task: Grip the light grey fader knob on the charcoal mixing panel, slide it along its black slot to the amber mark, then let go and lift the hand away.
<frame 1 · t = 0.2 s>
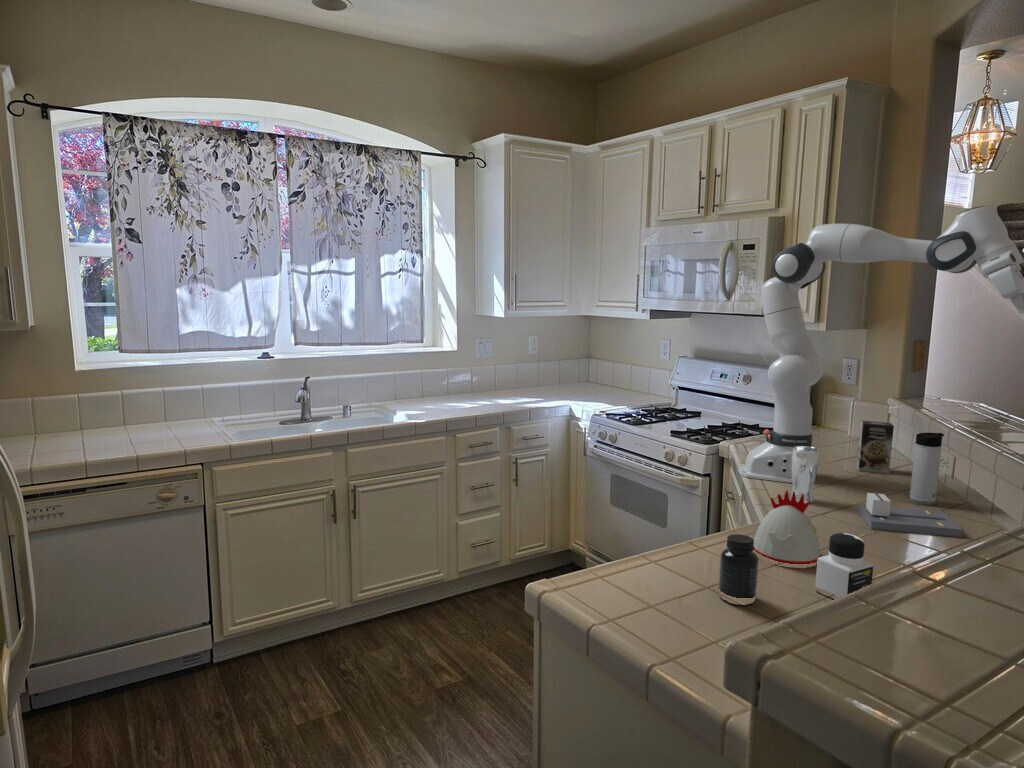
fader panel: (906, 523, 171), on the table
travel mug: (922, 502, 188), on the table
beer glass: (801, 500, 189), on the table
fader knob: (878, 504, 172), point 4 cm above the table, slide at -7.0 cm
supplement bottle: (736, 599, 128), on the table
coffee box: (872, 471, 221), on the table
medicine bottle: (842, 596, 130), on the table
kitchen timer: (785, 556, 149), on the table
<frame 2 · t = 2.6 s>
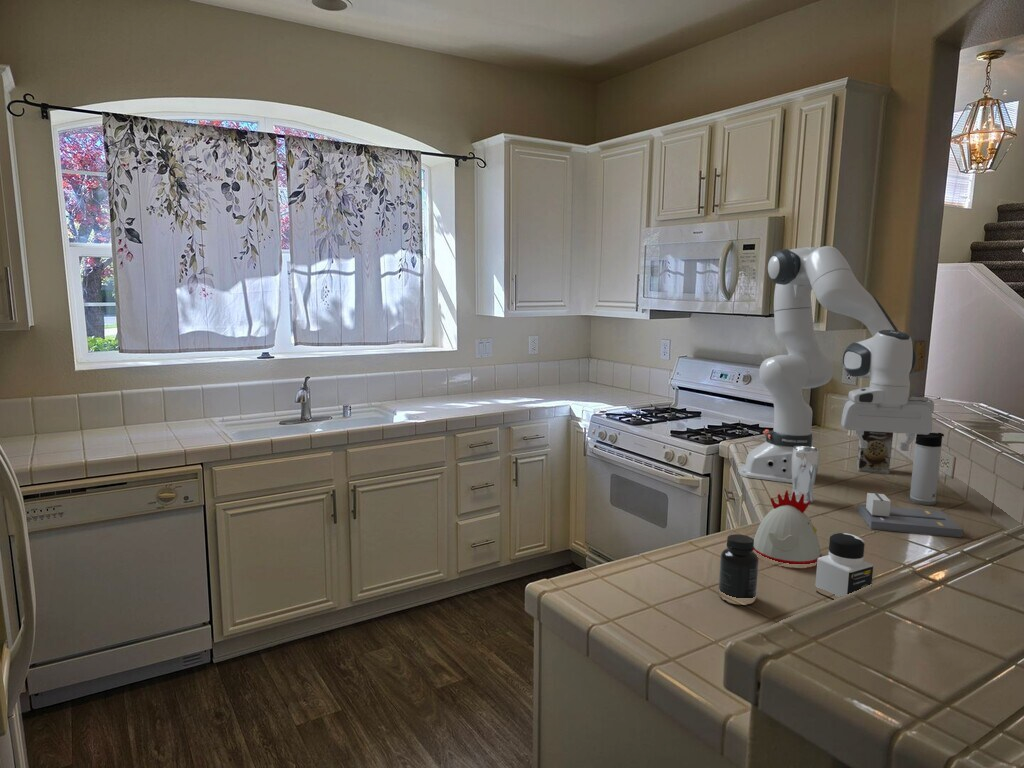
hand: (883, 449, 170), 19 cm above the table, tool pointing down, fingers open, 8 cm apart
nothing on the table moved.
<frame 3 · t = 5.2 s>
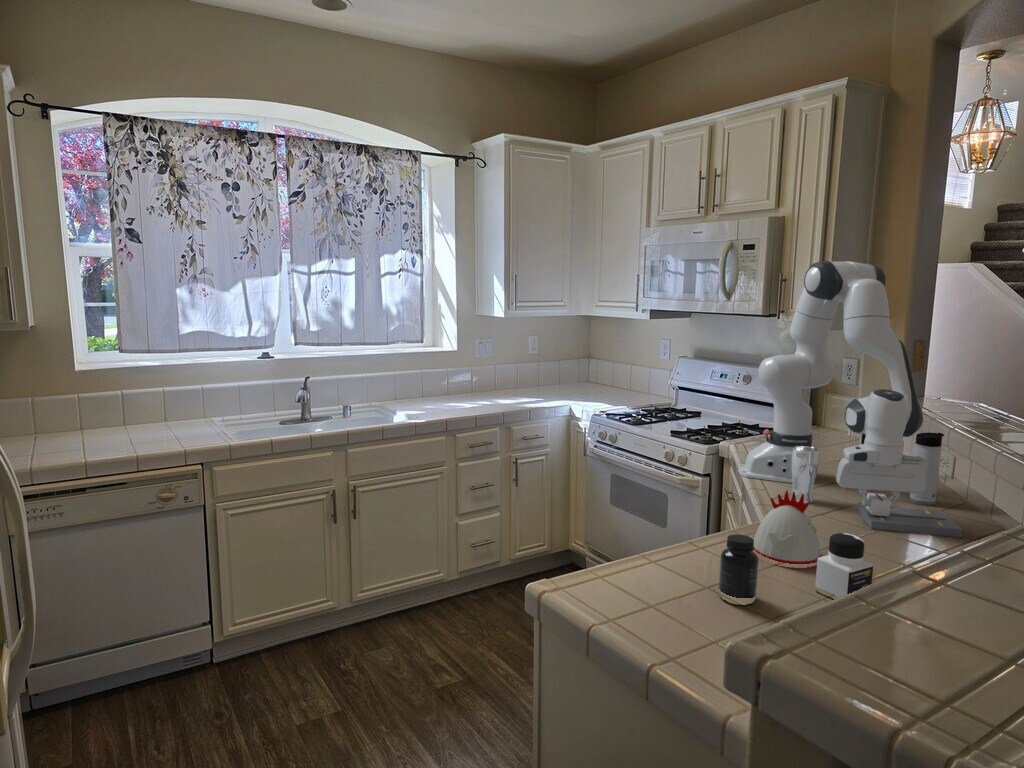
hand: (877, 506, 172), 4 cm above the table, tool pointing down, fingers closed on fader knob, 4 cm apart
fader knob: (878, 504, 172), point 4 cm above the table, slide at -7.0 cm, touching gripper
everything else where it was.
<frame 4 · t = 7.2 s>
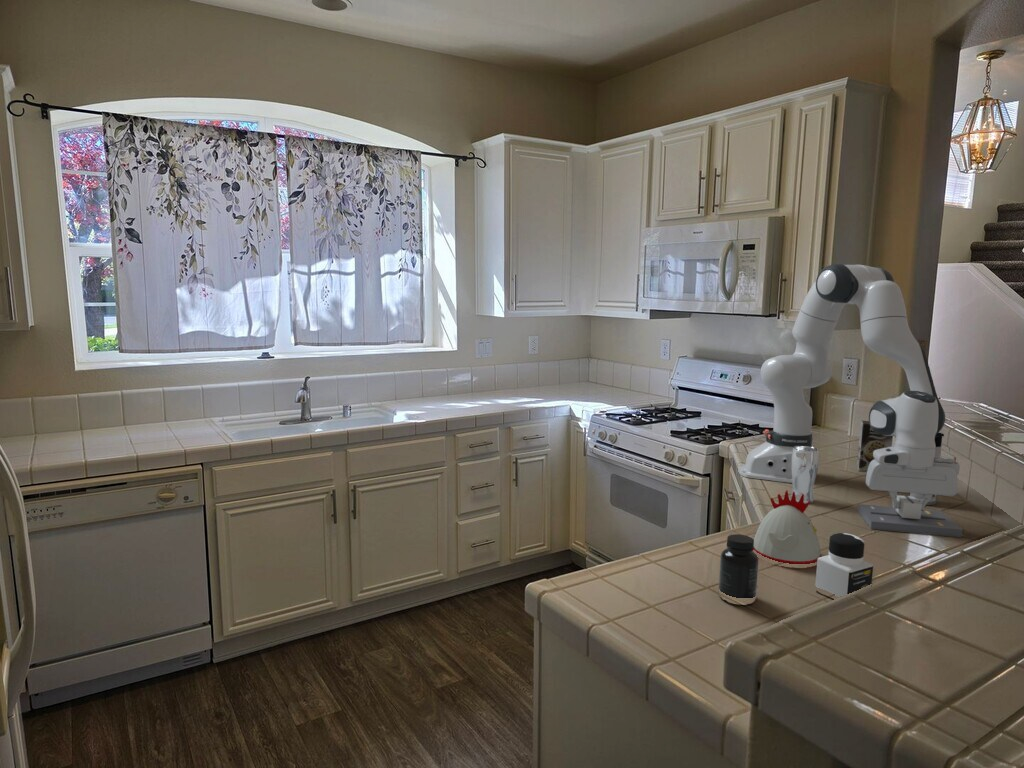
hand: (908, 509, 170), 4 cm above the table, tool pointing down, fingers closed on fader knob, 4 cm apart
fader knob: (908, 506, 170), point 4 cm above the table, slide at 0.0 cm, touching gripper
everything else where it was.
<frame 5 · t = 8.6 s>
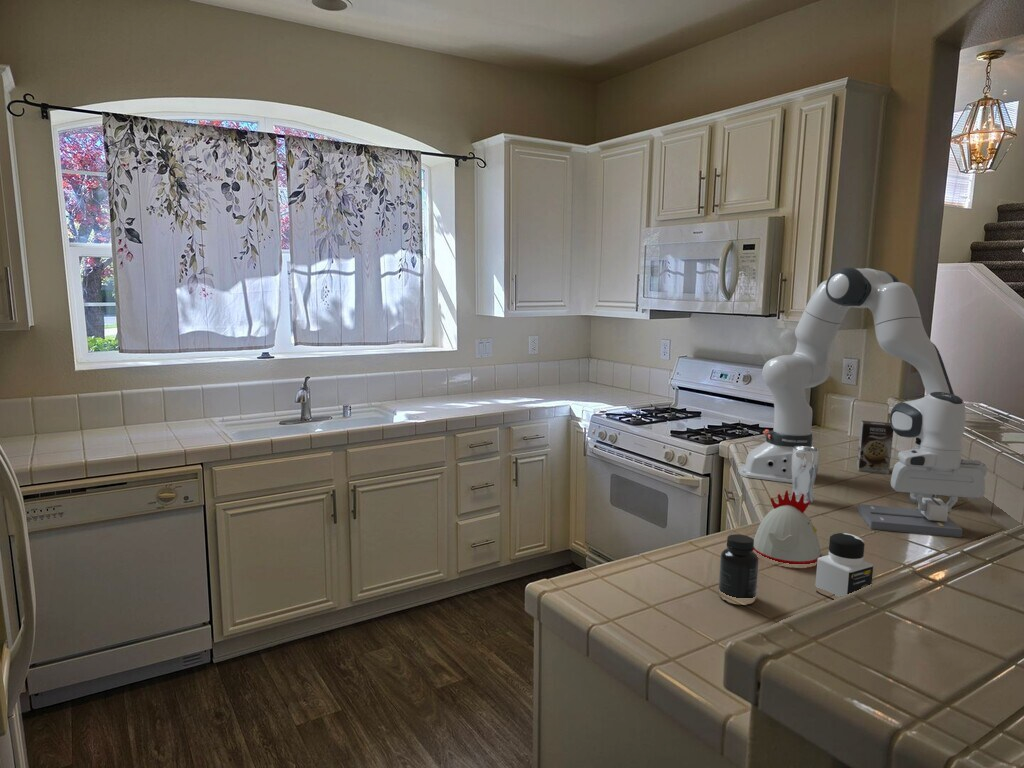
hand: (934, 511, 169), 4 cm above the table, tool pointing down, fingers closed on fader knob, 4 cm apart
fader knob: (934, 508, 169), point 4 cm above the table, slide at 5.9 cm, touching gripper
everything else where it was.
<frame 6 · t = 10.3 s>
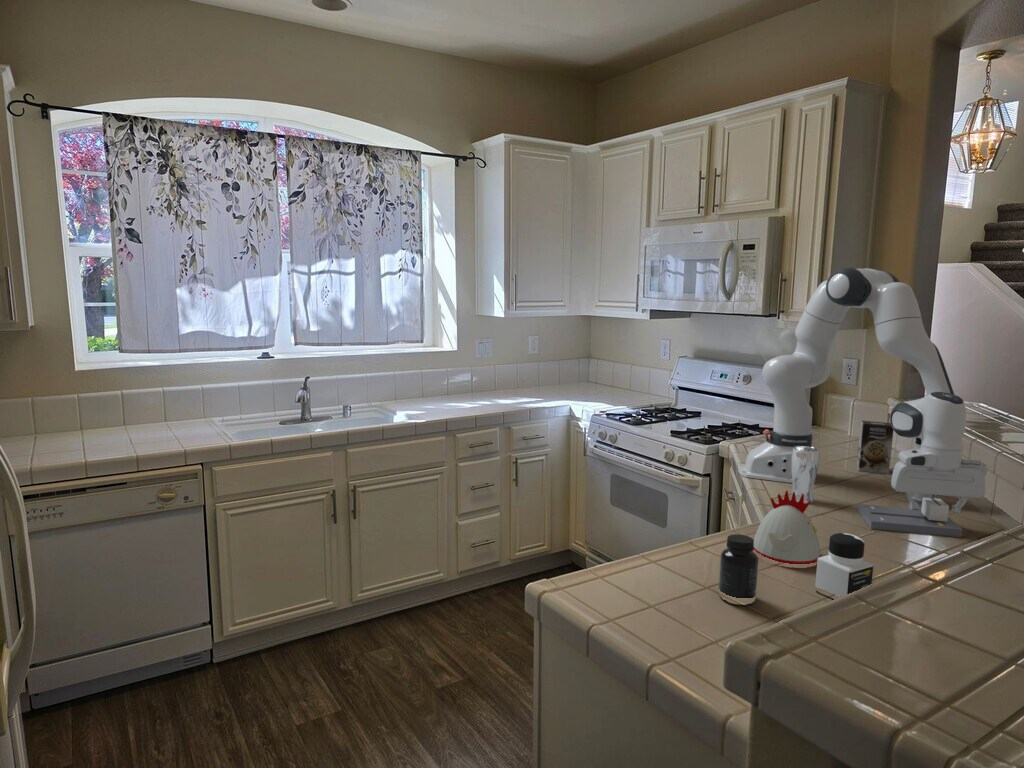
hand: (934, 511, 169), 4 cm above the table, tool pointing down, fingers open, 8 cm apart
fader knob: (934, 509, 169), point 4 cm above the table, slide at 6.0 cm
everything else where it was.
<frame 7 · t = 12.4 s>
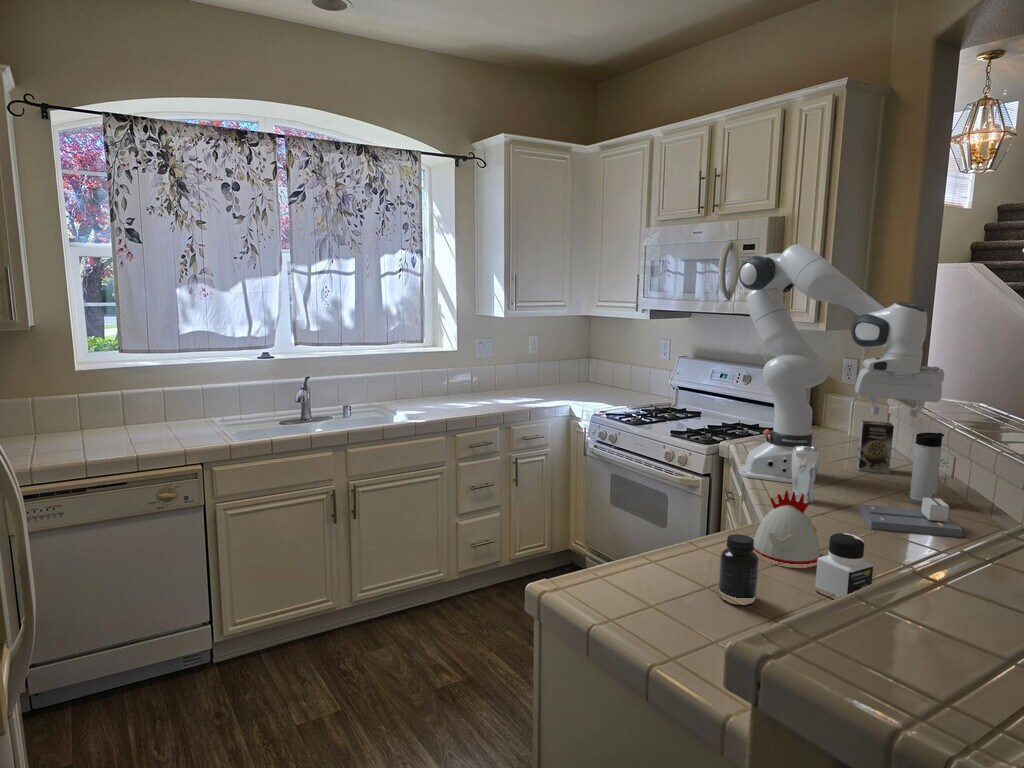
hand: (894, 415, 180), 26 cm above the table, tool pointing down, fingers open, 8 cm apart
nothing on the table moved.
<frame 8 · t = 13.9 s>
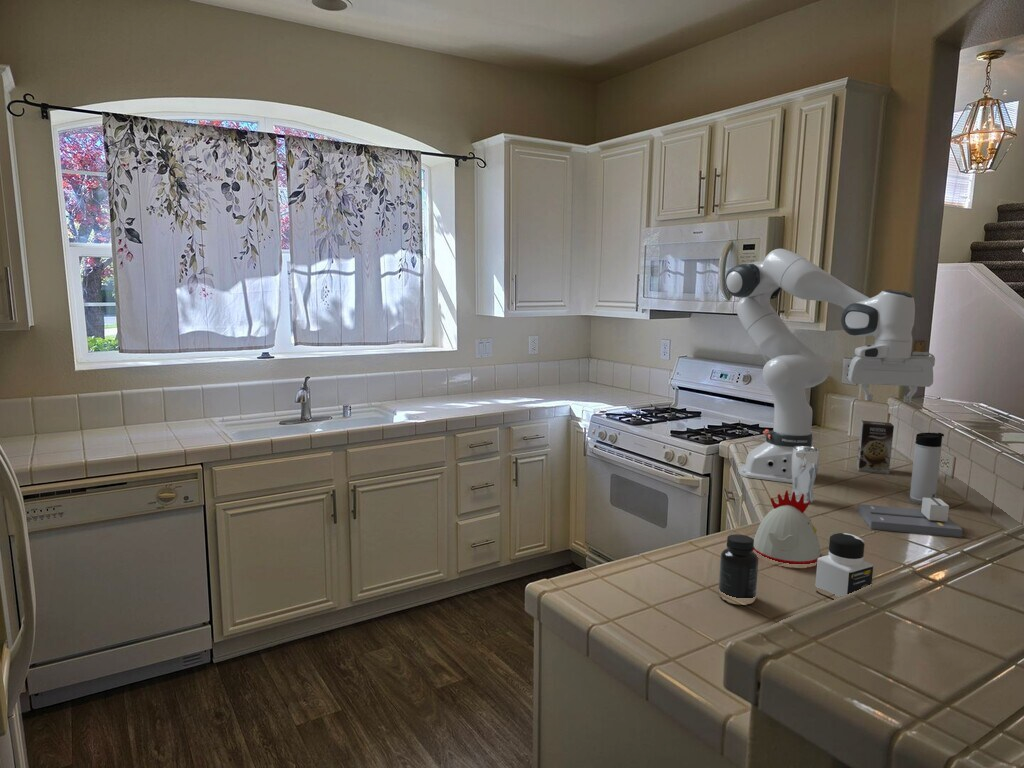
hand: (887, 401, 182), 29 cm above the table, tool pointing down, fingers open, 8 cm apart
nothing on the table moved.
at the end: fader knob slide at 6.0 cm; the gripper is holding nothing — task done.
